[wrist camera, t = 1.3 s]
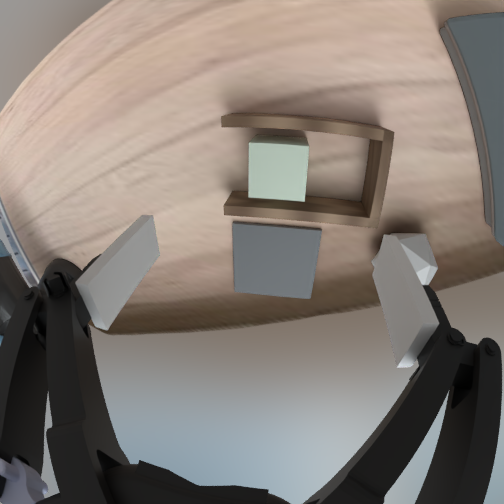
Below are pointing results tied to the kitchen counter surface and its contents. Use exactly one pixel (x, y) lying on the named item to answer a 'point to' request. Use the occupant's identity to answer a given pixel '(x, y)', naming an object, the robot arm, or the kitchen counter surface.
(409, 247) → the die
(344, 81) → the kitchen counter surface
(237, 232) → the mat
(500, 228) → the toaster
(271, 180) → the block
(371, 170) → the brown u-shaped bracket
